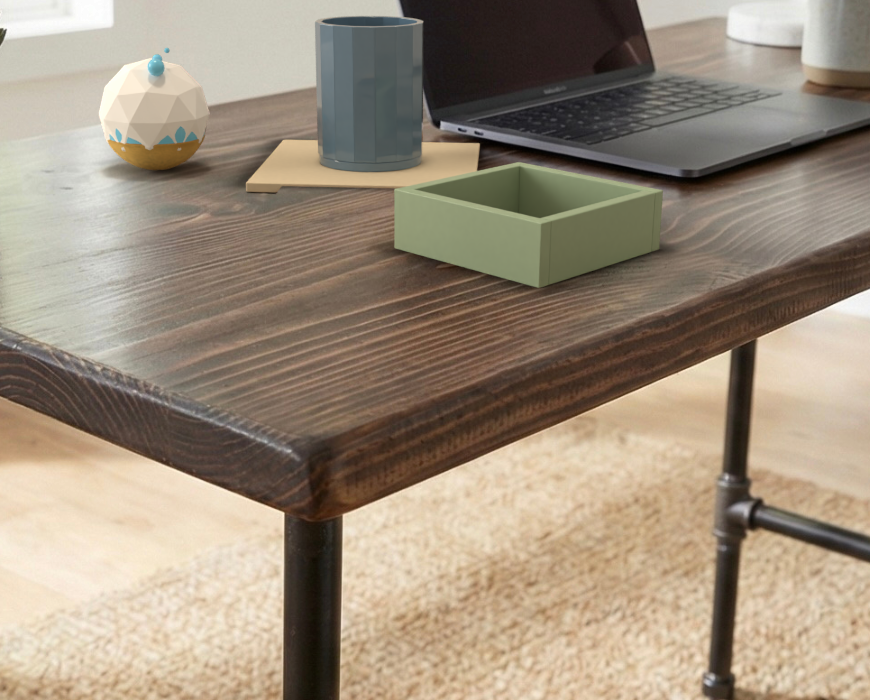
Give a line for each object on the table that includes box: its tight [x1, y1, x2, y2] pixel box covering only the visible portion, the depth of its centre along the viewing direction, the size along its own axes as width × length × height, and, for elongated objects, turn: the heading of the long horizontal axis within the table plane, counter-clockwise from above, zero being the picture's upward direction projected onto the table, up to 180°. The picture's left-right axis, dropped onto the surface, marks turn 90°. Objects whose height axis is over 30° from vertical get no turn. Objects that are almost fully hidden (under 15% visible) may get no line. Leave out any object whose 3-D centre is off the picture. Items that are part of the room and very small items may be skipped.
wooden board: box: [245, 139, 481, 194], centre depth 86 cm, size 14×14×1 cm
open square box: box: [393, 161, 664, 289], centre depth 66 cm, size 10×10×4 cm
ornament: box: [98, 47, 211, 171], centre depth 84 cm, size 7×7×8 cm
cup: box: [314, 15, 425, 172], centre depth 84 cm, size 7×7×9 cm
